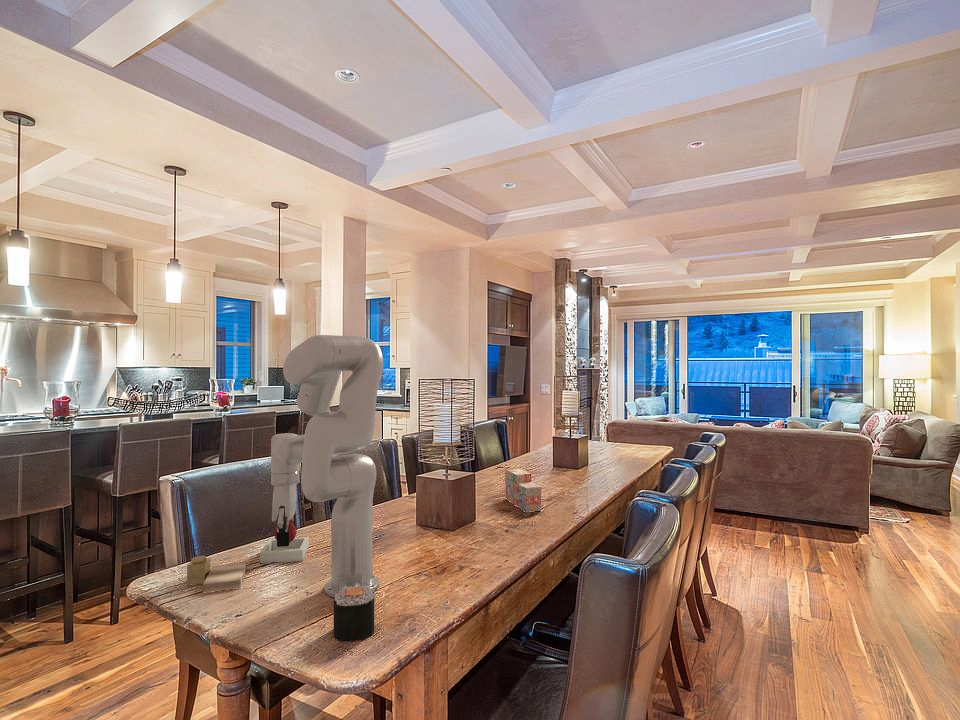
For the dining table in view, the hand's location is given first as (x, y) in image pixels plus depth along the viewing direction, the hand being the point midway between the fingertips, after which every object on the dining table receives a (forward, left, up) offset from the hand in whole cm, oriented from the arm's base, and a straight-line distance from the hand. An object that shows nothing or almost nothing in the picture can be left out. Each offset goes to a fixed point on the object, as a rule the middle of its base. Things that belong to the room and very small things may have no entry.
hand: (285, 541), depth 146 cm
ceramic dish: (0, 0, -4) cm, 4 cm away
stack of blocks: (+38, -79, -4) cm, 88 cm away
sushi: (-47, -22, -4) cm, 52 cm away
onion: (0, 0, -1) cm, 1 cm away
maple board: (-16, +11, -4) cm, 20 cm away
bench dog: (-15, +18, -4) cm, 23 cm away
